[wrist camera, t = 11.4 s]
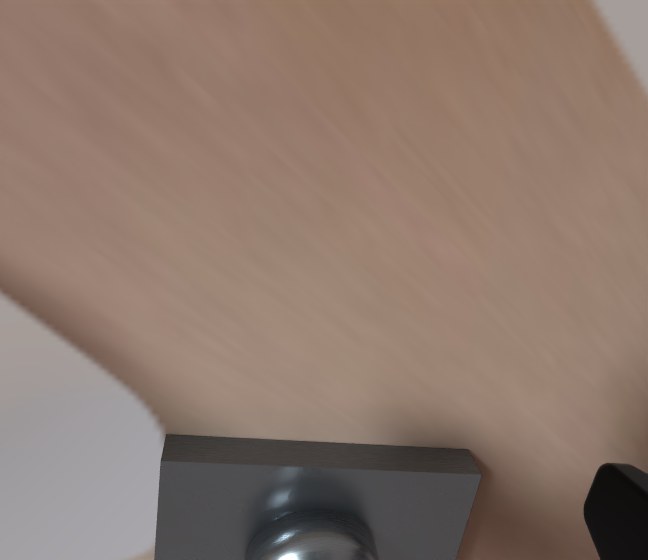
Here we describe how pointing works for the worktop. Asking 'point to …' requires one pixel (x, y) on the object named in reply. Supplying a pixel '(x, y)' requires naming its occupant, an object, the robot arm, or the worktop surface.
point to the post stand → (311, 500)
